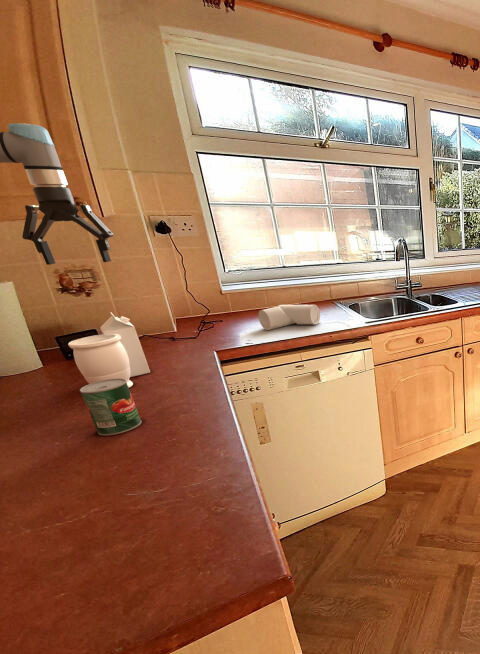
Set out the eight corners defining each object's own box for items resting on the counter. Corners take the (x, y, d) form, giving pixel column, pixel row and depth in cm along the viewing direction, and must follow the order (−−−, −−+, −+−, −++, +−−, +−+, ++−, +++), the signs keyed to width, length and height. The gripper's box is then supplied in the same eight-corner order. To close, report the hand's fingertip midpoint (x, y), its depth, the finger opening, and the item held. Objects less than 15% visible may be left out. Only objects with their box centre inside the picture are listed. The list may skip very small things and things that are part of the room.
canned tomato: (100, 425, 101) (82, 383, 97) (142, 416, 105) (127, 375, 101) (95, 439, 95) (76, 395, 91) (141, 428, 99) (124, 386, 95)
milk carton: (121, 379, 127) (97, 318, 120) (117, 373, 131) (94, 314, 124) (150, 373, 132) (130, 313, 125) (146, 367, 136) (126, 310, 129)
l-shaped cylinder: (301, 314, 193) (257, 324, 178) (299, 292, 188) (254, 301, 173) (326, 328, 186) (283, 340, 170) (325, 305, 181) (281, 316, 166)
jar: (123, 379, 127) (105, 331, 121) (146, 384, 124) (128, 335, 118) (80, 394, 118) (58, 342, 112) (103, 399, 114) (82, 346, 109)
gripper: (111, 187, 127) (135, 259, 135) (3, 187, 119) (35, 263, 127) (97, 186, 120) (123, 262, 128) (-18, 186, 113) (17, 266, 121)
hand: (79, 263), depth 128 cm, fingers open, 13 cm apart
